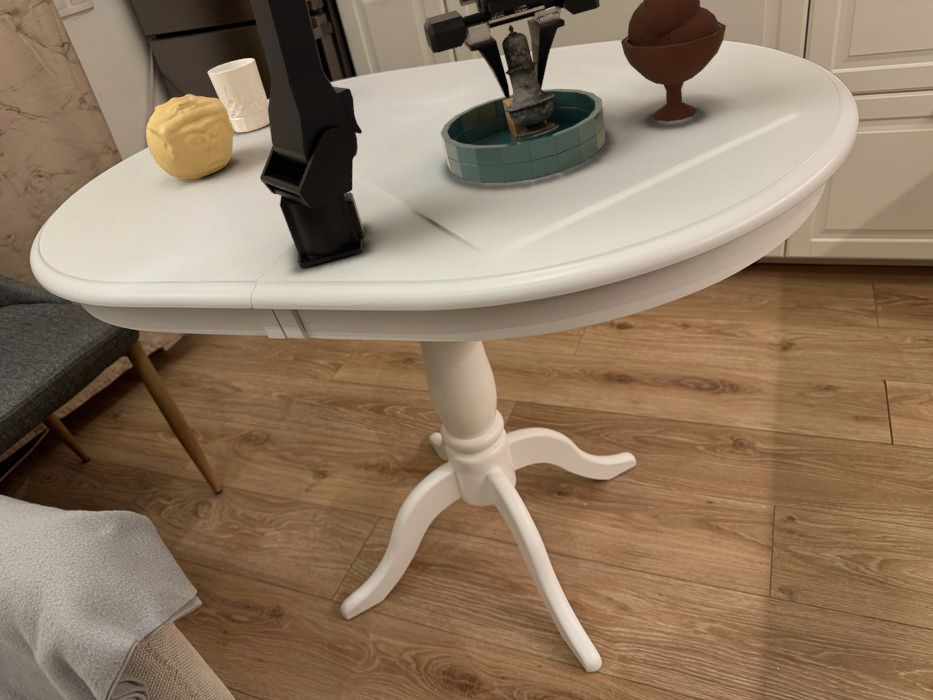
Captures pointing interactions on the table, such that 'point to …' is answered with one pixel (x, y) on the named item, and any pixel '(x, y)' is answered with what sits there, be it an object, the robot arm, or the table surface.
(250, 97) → the white cup
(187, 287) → the table surface
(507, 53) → the salt shaker
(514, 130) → the block
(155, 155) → the sculpture
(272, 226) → the table surface
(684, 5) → the ice cream bowl
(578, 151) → the bowl
